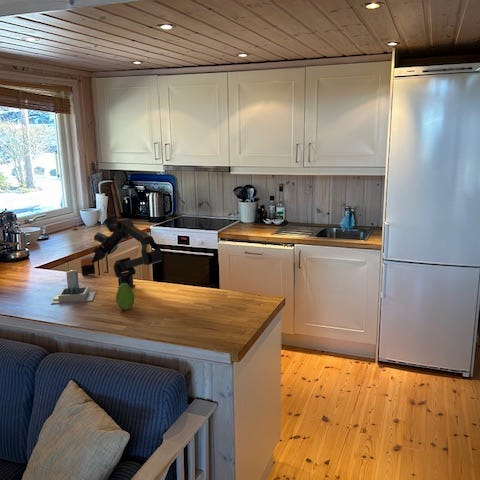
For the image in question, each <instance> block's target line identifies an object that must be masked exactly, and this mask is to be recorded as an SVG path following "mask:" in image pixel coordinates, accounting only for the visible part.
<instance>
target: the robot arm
mask: <svg viewBox="0 0 480 480" xmlns="http://www.w3.org/2000/svg"><path fill="white" fill-rule="evenodd" d="M103 224H104V226H105V227H106V228H107V230H108V231H109V233H111V234H110V235H109V236H108V235H106V234H104V233H102V232H99V231H98V232H95V234H94V235H93V240H94V241H96V242H99V243H100V245H97V246H96V247H94V248H93V253H94V256H92V257H93V259H92V261H91V262H92V263H94V264H95V263H96V262H99V261H101V260H103V259H105V258H106V257H107V256H108V255H110V254H112V253H114V252H116V251H117V250H118V249H119V245H120V243H121V242H122V241H123V240H124V239H126V240H129V239H130V237H132V238H133V239H135V240H136V241H138V242H139V243H140V244H141V251H140V252H141V256H139V257H137V258H134V259H131V257H130V256H129V257H125V258H122V259H118V260H115V261H114V264H113V271H114V275H115V277H116V278H118V279H117V282H118V286H117V289H118V288H119V286H120V285H121V284H122V283H126V284H128V285H129V286H130V287H131V289H132V288H134V287H135V286H136V285H135V284H134V276H135V275H136V269H135V267H139V266H142V265H145V266H147V265H153V264H157V263H160V262H161V263H162V261H163V253H162V250H161V246H159V244H157V243H156V242H155V240H154V237H153V236H152V235H149V234H148V233H146V232H145V231H143V230H141V229H140V228H139V227H136V226H135V225H134V222H133V221H132V220H131V219H130V218H122V219H116V217H115V216H114V214H112V215H109V216H108V217H107V218H106V219H104V221H103ZM148 245H150V247H151V248H152V249H153V250H152V251H147V248H148V247H147V246H148ZM133 275H134V276H133Z"/></svg>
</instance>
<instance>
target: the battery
mask: <svg viewBox="0 0 480 480" xmlns="http://www.w3.org/2000/svg"><path fill="white" fill-rule="evenodd" d="M93 257H94V256H93V255H88V256H82V257H81V258H80V269H81V275H82V276H90V275H95V274H96V268H95V263H92V262H91V261H92V259H93Z"/></svg>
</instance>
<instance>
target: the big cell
mask: <svg viewBox="0 0 480 480" xmlns="http://www.w3.org/2000/svg"><path fill="white" fill-rule="evenodd" d="M65 272H66V273H65V274H66V283H67V284H66V285H67V288H68V295H71V294H80V292H79V287H80V283H79V272H78V270H75V269H71V270H70V269H69V270H67V271H65Z"/></svg>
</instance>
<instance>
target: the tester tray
mask: <svg viewBox="0 0 480 480" xmlns="http://www.w3.org/2000/svg"><path fill="white" fill-rule="evenodd" d="M79 292H80V294H71V295H68V287H63V288H62V290H60V292H59V293H58V294H56V295H55V296H54V297H53V299H52V301H51V305H61V304H76V303H77V304H78V303H88V302H94V301H93V300H94V299H95V296H96V294H97V292H96V291H90V290H89V286H79Z"/></svg>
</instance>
